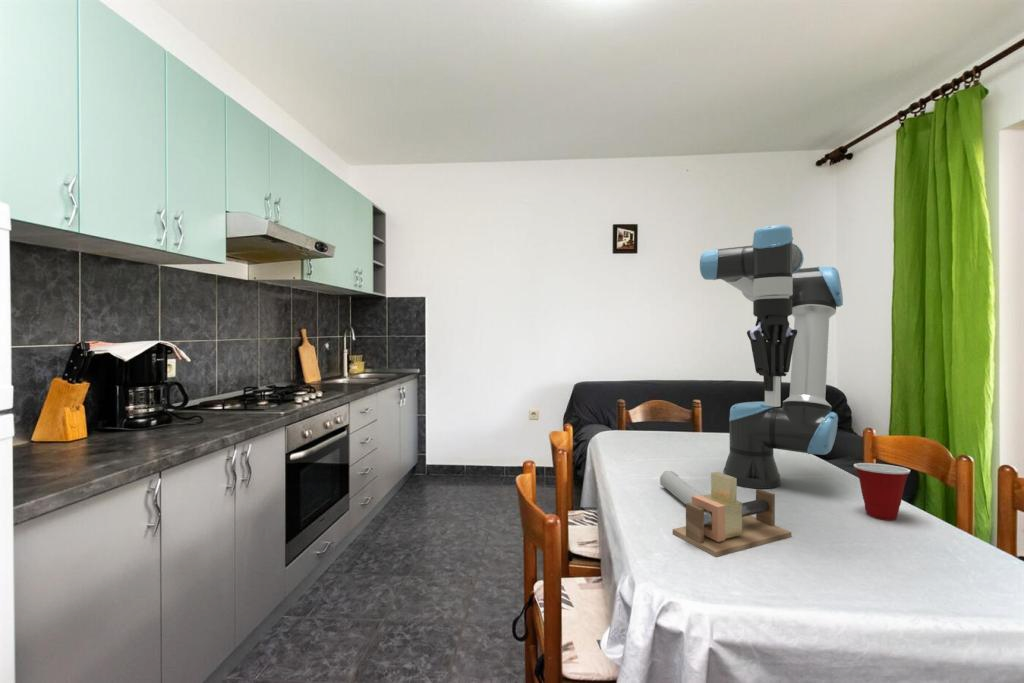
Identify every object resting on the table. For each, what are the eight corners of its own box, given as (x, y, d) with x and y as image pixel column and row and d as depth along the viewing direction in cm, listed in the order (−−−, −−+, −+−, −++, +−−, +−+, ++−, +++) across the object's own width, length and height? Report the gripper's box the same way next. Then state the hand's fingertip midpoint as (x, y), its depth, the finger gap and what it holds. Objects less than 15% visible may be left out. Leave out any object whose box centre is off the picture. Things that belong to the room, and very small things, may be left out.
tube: (726, 506, 112) (680, 473, 137) (705, 499, 112) (662, 468, 136) (719, 527, 112) (674, 491, 137) (698, 521, 112) (657, 485, 137)
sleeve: (716, 522, 108) (716, 470, 107) (741, 534, 101) (741, 478, 101) (699, 526, 106) (699, 473, 105) (724, 538, 99) (724, 482, 99)
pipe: (759, 509, 110) (759, 496, 110) (771, 513, 108) (771, 500, 108) (689, 525, 102) (689, 511, 102) (700, 530, 99) (700, 515, 99)
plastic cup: (893, 508, 119) (893, 460, 119) (921, 526, 109) (921, 473, 108) (844, 506, 121) (844, 458, 121) (867, 522, 111) (867, 471, 110)
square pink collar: (698, 527, 106) (698, 494, 106) (725, 540, 99) (725, 505, 99) (691, 528, 105) (691, 496, 105) (718, 542, 98) (717, 507, 98)
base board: (744, 517, 115) (744, 483, 115) (791, 536, 104) (791, 499, 104) (672, 533, 106) (672, 497, 106) (715, 556, 95) (715, 516, 95)
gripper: (778, 299, 111) (778, 401, 112) (736, 299, 106) (736, 405, 107) (809, 297, 104) (809, 405, 105) (766, 296, 99) (766, 410, 100)
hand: (772, 405), depth 106 cm, fingers closed
